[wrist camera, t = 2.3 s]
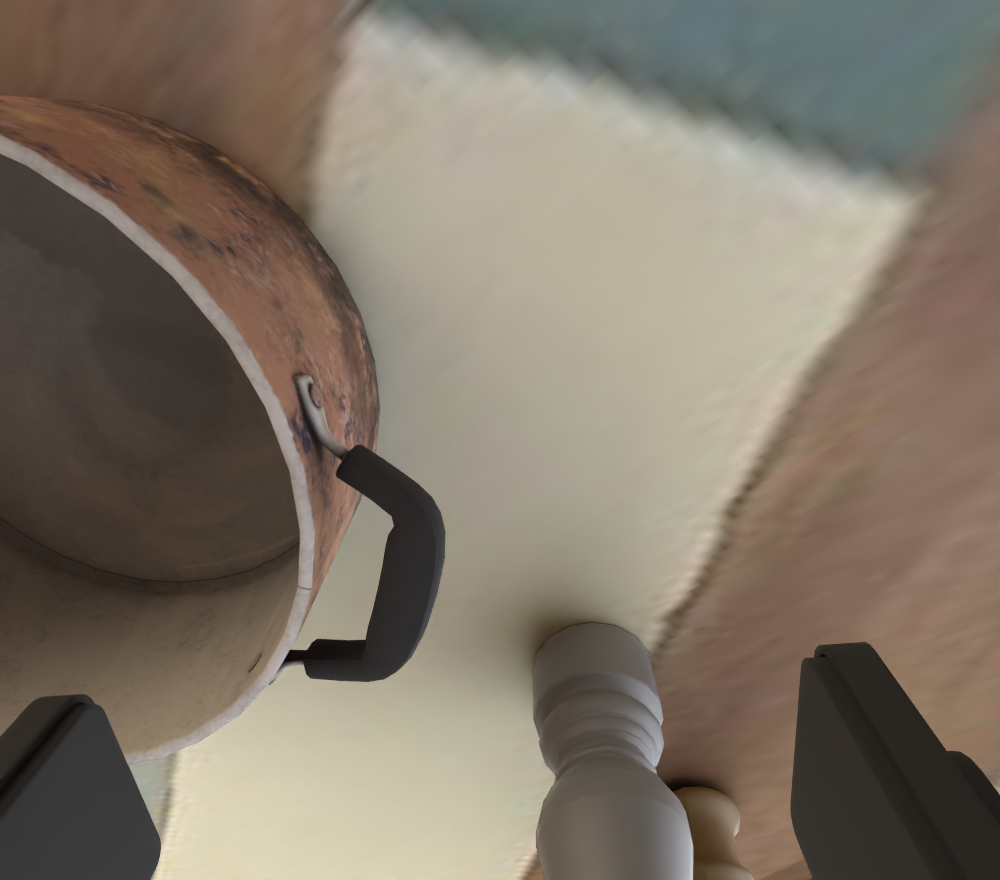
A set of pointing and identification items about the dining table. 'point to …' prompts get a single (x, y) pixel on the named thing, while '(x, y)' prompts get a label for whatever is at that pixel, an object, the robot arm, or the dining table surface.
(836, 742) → the robot arm
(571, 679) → the candle holder
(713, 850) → the kendama
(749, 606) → the dining table surface
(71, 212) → the cooking pot
